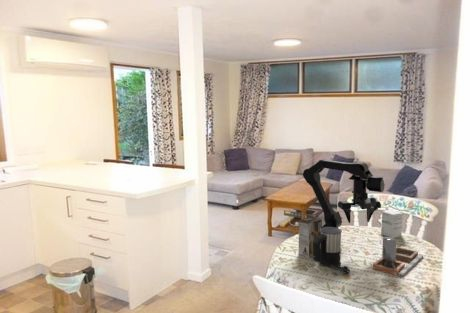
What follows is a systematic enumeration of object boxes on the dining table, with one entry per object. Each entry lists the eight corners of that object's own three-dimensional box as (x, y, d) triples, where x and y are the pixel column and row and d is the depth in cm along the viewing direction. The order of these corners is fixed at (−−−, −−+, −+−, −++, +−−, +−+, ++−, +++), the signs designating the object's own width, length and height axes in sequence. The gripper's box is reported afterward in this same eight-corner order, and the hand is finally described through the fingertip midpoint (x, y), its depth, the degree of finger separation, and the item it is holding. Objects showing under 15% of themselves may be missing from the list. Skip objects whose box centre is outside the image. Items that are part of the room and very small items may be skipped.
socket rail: (402, 277, 143) (402, 272, 143) (372, 268, 151) (372, 264, 151) (423, 257, 162) (423, 252, 162) (395, 250, 170) (395, 246, 170)
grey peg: (385, 271, 149) (387, 241, 147) (379, 266, 154) (380, 237, 152) (397, 270, 149) (399, 241, 148) (391, 265, 154) (392, 236, 153)
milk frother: (325, 257, 164) (326, 225, 162) (359, 266, 154) (360, 232, 152) (309, 267, 153) (309, 233, 151) (345, 278, 143) (346, 241, 141)
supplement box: (380, 234, 193) (381, 211, 192) (390, 232, 196) (391, 209, 195) (391, 238, 187) (392, 214, 185) (402, 236, 190) (403, 212, 188)
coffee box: (310, 249, 173) (311, 216, 171) (321, 253, 168) (322, 219, 166) (297, 254, 167) (298, 219, 166) (309, 258, 163) (309, 223, 161)
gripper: (347, 194, 160) (346, 228, 162) (388, 192, 162) (386, 226, 164) (337, 189, 171) (336, 221, 173) (375, 187, 173) (374, 219, 175)
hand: (358, 222), depth 171 cm, fingers open, 9 cm apart
